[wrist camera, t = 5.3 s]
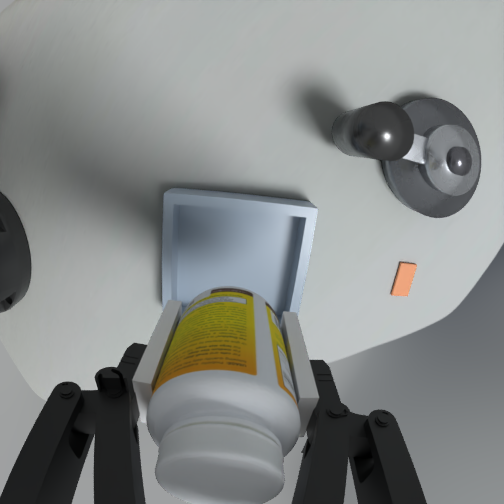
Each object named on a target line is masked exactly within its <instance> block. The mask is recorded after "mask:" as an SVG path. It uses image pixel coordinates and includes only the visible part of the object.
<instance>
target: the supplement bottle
mask: <svg viewBox="0 0 504 504" xmlns="http://www.w3.org/2000/svg"><path fill="white" fill-rule="evenodd" d="M146 420H147V427H148V430H149V433H150V435H151V437H152V438H153V440H154V442H155V443H156V445H157V446H158V447H159V455H158V460H157V464H156V468H155V475H156V479H157V481H158V483H159V484H160V485H161V486H162V487H163V489H165V491H167V492H168V493H170V494H171V495H173V496H174V497H176V498H178V499H180V500H182V501H185V502H187V503H191V504H263V503H265V502H267V501H269V500H271V499H273V498H274V497H276V496H277V495H278V494H279V493H280V492H281V490H282V489H283V486H284V481H285V478H284V470H283V462H284V457H285V456H286V455H287V454H288V453H289V452H290V451H291V450H292V448H293V447H294V445H295V444H296V442H297V440H298V437H299V434H300V427H301V422H300V414H299V409H298V405H297V400H296V396H295V391H294V386H293V382H292V377H291V371H290V368H289V363H288V358H287V354H286V349H285V345H284V340H283V336H282V332H281V328H280V324H279V320H278V317H277V315H276V313H275V311H274V309H273V308H272V307H271V305H270V304H269V303H268V302H267V301H266V300H265V299H264V298H262V297H261V296H260V295H258V294H256V293H255V292H252V291H250V290H247V289H245V288H241V287H234V286H222V287H216V288H212V289H209V290H207V291H204V292H203V293H201V294H199V295H198V296H196V297H195V298H194V299H193V300H192V301H191V302H190V303H189V304H188V305H187V307H186V308H185V310H184V312H183V314H182V316H181V319H180V321H179V324H178V326H177V329H176V331H175V334H174V336H173V339H172V342H171V344H170V347H169V350H168V352H167V355H166V357H165V360H164V363H163V366H162V368H161V371H160V374H159V377H158V379H157V382H156V385H155V388H154V390H153V393H152V396H151V399H150V402H149V405H148V409H147V416H146Z"/></svg>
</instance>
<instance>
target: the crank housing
mask: <svg viewBox="0 0 504 504" xmlns="http://www.w3.org/2000/svg"><path fill="white" fill-rule="evenodd" d="M401 108H402V109H403V110H405V112H406V113H407V114H408V116H409V117H410V119H411V121H412V124H413V127H414V134H417V135H420V136H423V134H424V133H425V132H426V131H427V130H428V129H429V128H431V127H433V126H436V125H457V126H460V127H462V128H464V129H465V130H467V131H468V132H469V133H470V135H471V136H472V137H473V139H474V141H475V143H476V145H477V148H478V152H479V159H480V166H479V173H478V176H477V179H476V181H475V183H474V185H473V186H472V188H471V189H470V190H469V191H468V192H466V193H464V194H462V195H458V196H453V195H449V194H446V193H443V192H440V191H437V190H435V189H433V188H431V187H430V186H429V185H428V184H427V183H426V182H425V181H424V179H423V177H422V175H421V173H420V170H419V167H418V163H416V162H412V161H408V160H405V159H399V160H396V161H386V160H381V162H382V168H383V172H384V175H385V178H386V181H387V183H388V185H389V187H390V189H391V190H392V192H393V193H394V195H395V196H396V197H397V198H398V199H399V200H400V201H401V202H402V203H403V204H404V205H406V206H407V207H409V208H410V209H413V210H415V211H417V212H419V213H421V214H423V215H426V216H429V217H434V218H443V217H448V216H450V215H453V214H455V213H456V212H458V211H460V210H461V209H462V208H463V207H464V206H465V205H466V204H467V203H468V202H469V200H470V199H471V197H472V196H473V194H474V192H475V190H476V187H477V185H478V181H479V177H480V172H481V151H480V146H479V142H478V138H477V135H476V133H475V130H474V128H473V126H472V124H471V123H470V121H469V120H468V118H467V117H466V116H465V115H464V113H463V112H462V111H461V110H459V109H458V108H457V107H456V106H454V105H453V104H451V103H449V102H448V101H445V100H442V99H438V98H426V99H421V100H416V101H411V102H408V103H406V104H404V105H403V106H401Z"/></svg>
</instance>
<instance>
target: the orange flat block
mask: <svg viewBox="0 0 504 504" xmlns="http://www.w3.org/2000/svg"><path fill="white" fill-rule="evenodd" d="M416 267H417V265H416V264H411V263H402V262H400V264H399V268H398V271H397V275H396V278H395V282H394V285H393V289H392V292H391V295H394V296H408V293H409V290H410V287H411V284H412V281H413V277H414V274H415V271H416Z"/></svg>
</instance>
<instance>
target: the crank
mask: <svg viewBox="0 0 504 504" xmlns="http://www.w3.org/2000/svg"><path fill="white" fill-rule="evenodd" d="M332 137H333V140H334V143H335V144H336V146H337V147H338V149H339V150H340V151H342V152H343V153H345V154H347V155H349V156H356V157H364V158H371V159H379V160H386V161H396V160H399V159H405V160H408V161H412V162H416V163H418V167H419V170H420V173H421V175H422V177H423V179H424V181H425V182H426V183H427V184H428V185H429V186H430V187H431V188H433V189H435V190H437V191H440V192H443V193H446V194H449V195H453V196H458V195H462V194H464V193H466V192H468V191H469V190H470V189H471V188H472V186H473V185H474V183H475V181H476V179H477V176H478V173H479V166H480V159H479V152H478V148H477V145H476V143H475V141H474V139H473V137H472V136H471V135H470V133H469V132H468V131H467V130H465V129H464V128H462V127H460V126H457V125H436V126H433V127H431V128H429V129H428V130H427V131H426V132H425V133H424V134H423V136H420V135H417V134H414V127H413V124H412V121H411V119H410V117H409V116H408V114H407V113H406V112H405V110H403V109H402V108H401V107H400V106H398V105H397V104H394V103H392V102H378V103H375V104H371V105H368V106H364V107H361V108H358V109H354V110H351V111H348V112H345V113H343V114H341V115H340V116H338V117H337V119H336V120H335V122H334V124H333V127H332Z"/></svg>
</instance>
